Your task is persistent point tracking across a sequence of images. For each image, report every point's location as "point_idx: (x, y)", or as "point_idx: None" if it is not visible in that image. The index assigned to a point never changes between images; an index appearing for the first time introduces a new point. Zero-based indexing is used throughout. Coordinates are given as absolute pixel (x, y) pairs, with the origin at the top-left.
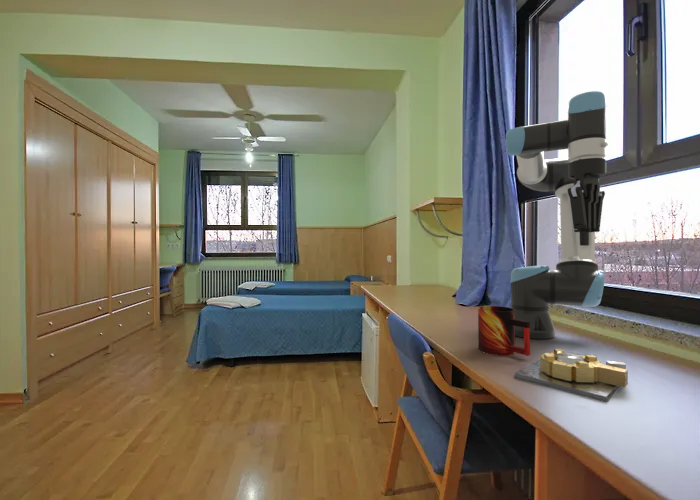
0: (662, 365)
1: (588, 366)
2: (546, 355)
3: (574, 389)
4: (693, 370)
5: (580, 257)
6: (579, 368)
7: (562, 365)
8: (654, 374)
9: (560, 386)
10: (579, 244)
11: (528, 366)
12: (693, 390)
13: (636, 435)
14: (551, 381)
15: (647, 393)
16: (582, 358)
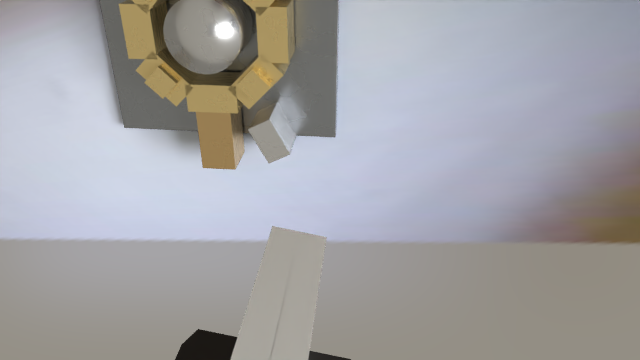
0: (568, 185)
1: (166, 95)
2: None
3: (112, 63)
4: (561, 241)
5: (269, 245)
6: (144, 76)
7: (124, 34)
8: (446, 176)
9: (106, 29)
10: (243, 326)
11: None
12: (367, 240)
13: (26, 180)
14: (109, 3)
15: (265, 176)
16: (208, 72)
